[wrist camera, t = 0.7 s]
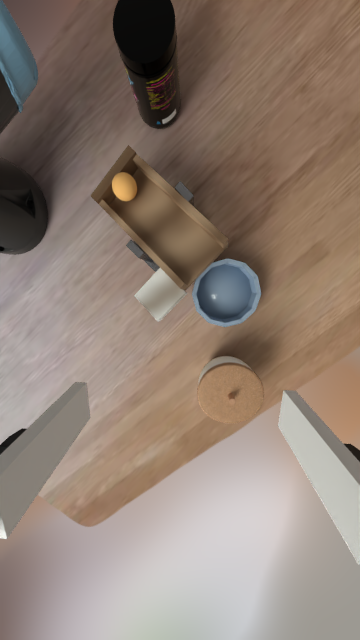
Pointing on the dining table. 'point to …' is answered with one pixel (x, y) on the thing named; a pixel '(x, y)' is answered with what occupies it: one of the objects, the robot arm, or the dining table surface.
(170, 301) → the lever
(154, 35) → the supplement container
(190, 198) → the pivot stand
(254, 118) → the dining table surface
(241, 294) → the bowl
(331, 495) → the robot arm
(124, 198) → the ball
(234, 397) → the lidded jar
